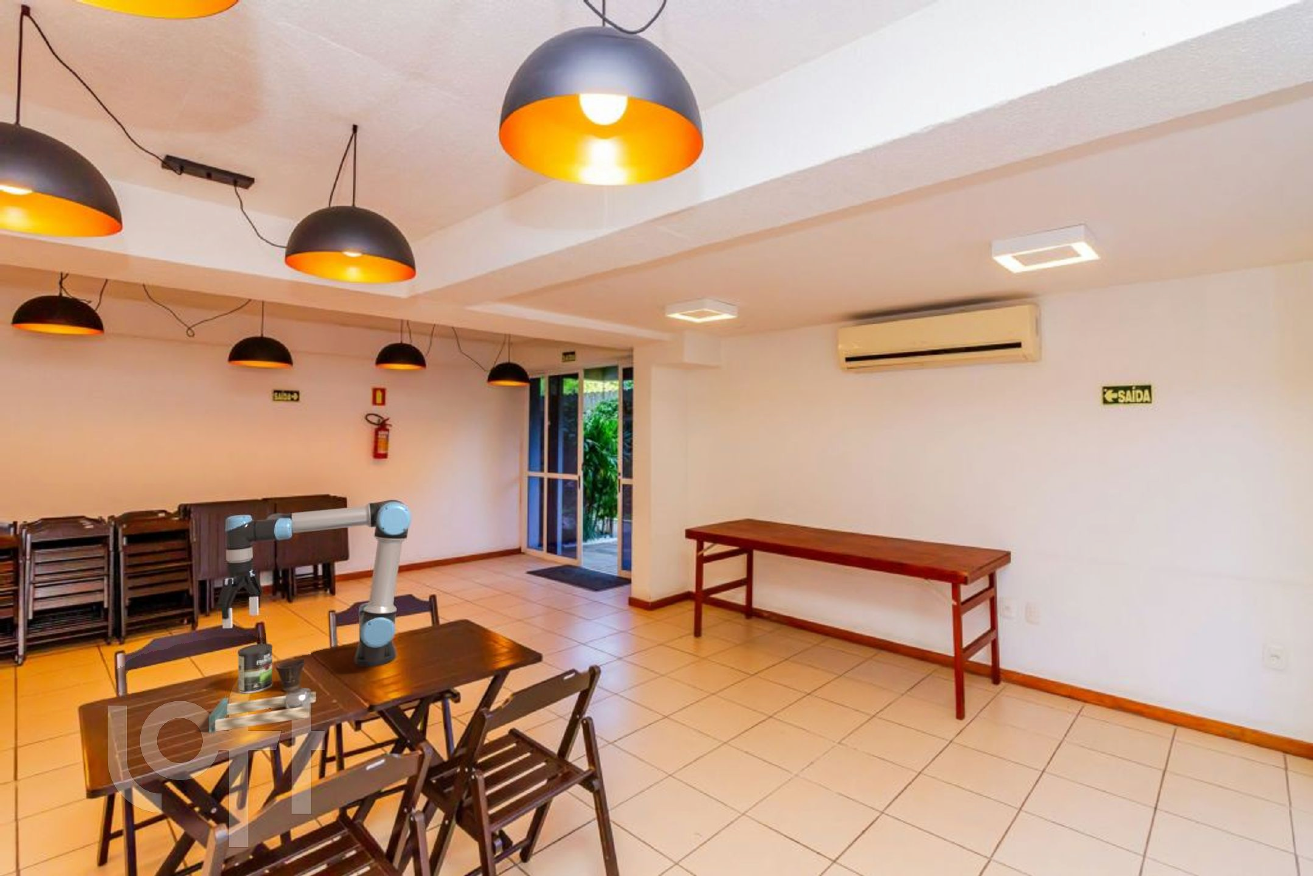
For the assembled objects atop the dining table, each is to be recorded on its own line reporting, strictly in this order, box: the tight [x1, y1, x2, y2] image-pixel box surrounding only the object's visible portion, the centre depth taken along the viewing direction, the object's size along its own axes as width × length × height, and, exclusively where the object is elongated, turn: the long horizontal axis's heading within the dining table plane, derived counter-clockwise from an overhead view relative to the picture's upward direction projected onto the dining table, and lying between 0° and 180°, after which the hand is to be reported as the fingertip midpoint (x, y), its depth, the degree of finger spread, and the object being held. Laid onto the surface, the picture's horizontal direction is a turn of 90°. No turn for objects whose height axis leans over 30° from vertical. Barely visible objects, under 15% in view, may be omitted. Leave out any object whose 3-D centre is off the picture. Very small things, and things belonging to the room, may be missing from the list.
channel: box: [208, 691, 317, 733], centre depth 193 cm, size 26×13×5 cm, turn 111°
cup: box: [274, 658, 306, 693], centre depth 212 cm, size 9×9×10 cm
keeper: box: [285, 687, 312, 711], centre depth 196 cm, size 7×7×6 cm
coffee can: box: [237, 643, 274, 695], centre depth 214 cm, size 10×10×14 cm
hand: (241, 621), depth 207 cm, fingers open, 13 cm apart
